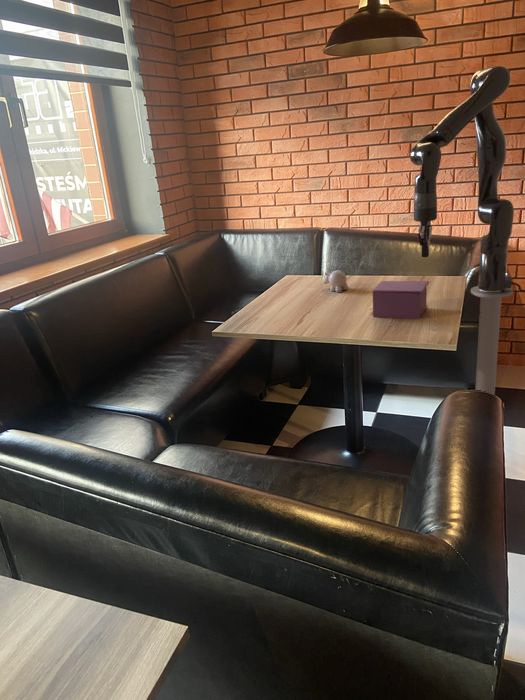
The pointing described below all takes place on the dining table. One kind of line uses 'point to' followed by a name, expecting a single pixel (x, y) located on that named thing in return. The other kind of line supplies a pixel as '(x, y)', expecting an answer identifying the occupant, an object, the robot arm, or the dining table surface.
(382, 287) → the lid
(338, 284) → the chubby cartoon animal
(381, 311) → the box
